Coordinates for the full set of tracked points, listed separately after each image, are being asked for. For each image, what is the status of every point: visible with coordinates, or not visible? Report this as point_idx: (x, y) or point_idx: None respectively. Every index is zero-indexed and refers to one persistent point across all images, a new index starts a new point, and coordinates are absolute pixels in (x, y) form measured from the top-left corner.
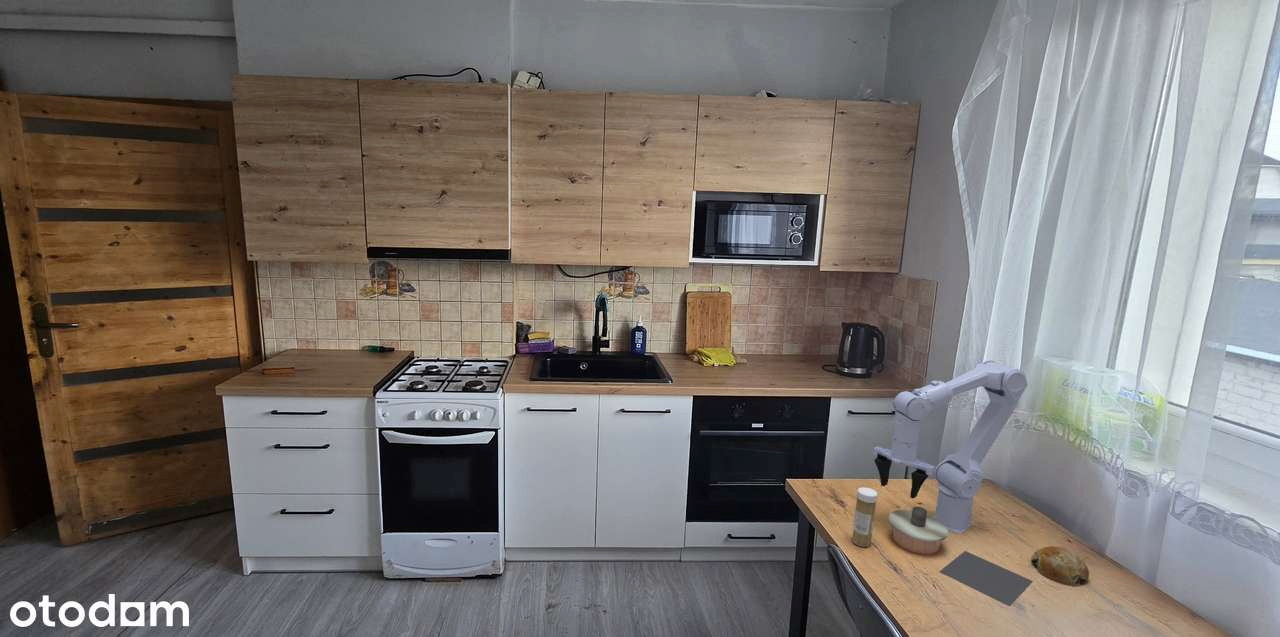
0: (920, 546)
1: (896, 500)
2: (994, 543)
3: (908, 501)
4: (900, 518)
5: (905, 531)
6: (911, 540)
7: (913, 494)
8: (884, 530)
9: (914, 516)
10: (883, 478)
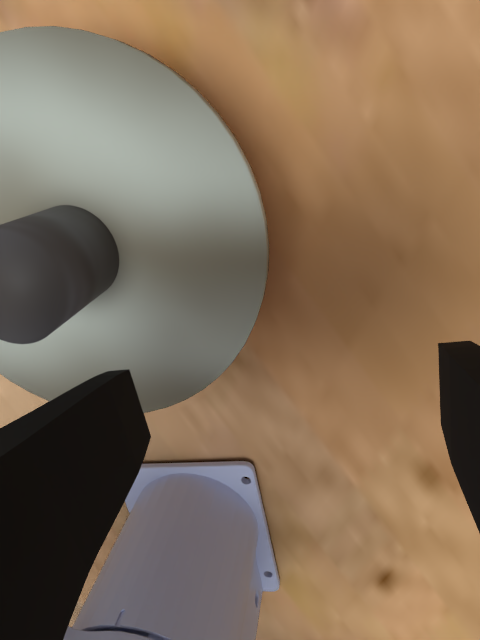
0: None
1: (473, 525)
2: None
3: (427, 557)
4: (169, 199)
5: (8, 46)
6: None
7: (75, 389)
8: (303, 176)
9: (27, 217)
10: (473, 389)
